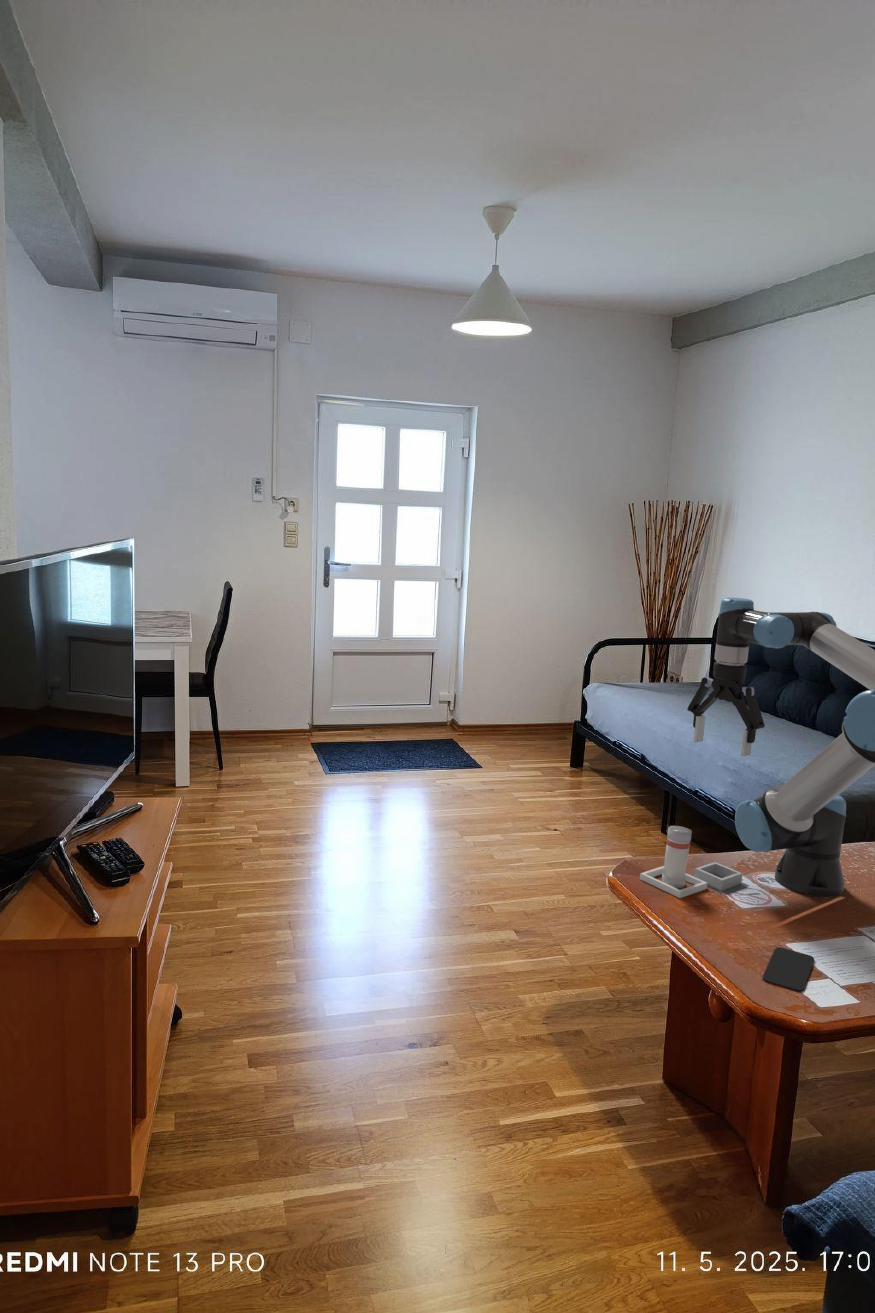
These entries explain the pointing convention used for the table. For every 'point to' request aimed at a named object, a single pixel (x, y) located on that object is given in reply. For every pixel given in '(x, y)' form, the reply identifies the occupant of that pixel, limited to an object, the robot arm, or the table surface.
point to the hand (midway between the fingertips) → (721, 748)
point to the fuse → (676, 856)
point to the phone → (788, 969)
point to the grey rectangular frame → (697, 886)
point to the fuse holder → (720, 877)
